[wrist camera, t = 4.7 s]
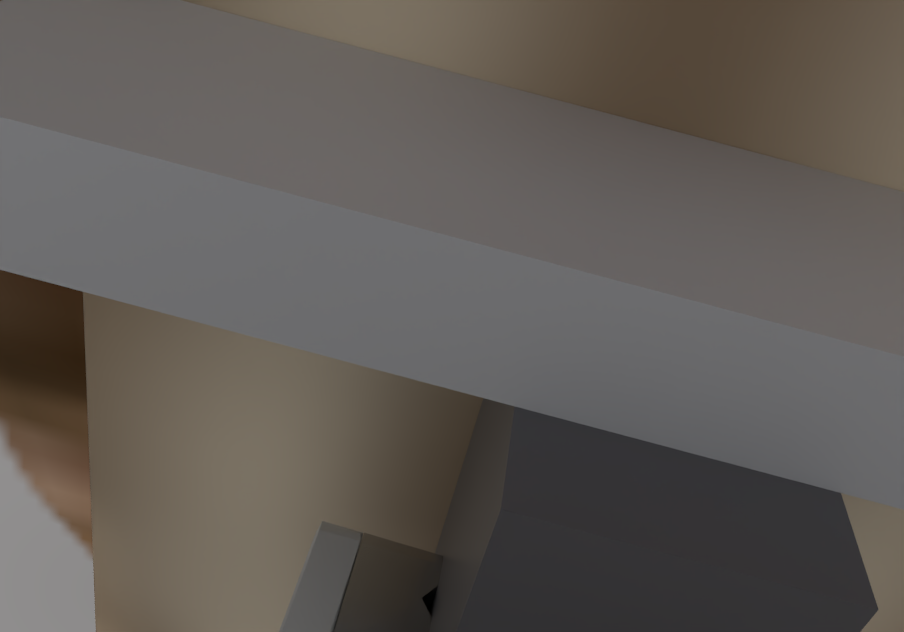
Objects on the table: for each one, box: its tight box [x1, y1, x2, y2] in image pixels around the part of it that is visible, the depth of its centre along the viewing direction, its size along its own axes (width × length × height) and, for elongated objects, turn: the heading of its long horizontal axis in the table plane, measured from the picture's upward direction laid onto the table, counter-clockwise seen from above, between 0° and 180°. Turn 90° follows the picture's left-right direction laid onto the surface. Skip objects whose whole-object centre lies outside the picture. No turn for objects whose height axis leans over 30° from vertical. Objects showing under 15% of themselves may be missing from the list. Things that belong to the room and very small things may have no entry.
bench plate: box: [83, 0, 904, 632], centre depth 10 cm, size 12×22×5 cm, turn 168°
